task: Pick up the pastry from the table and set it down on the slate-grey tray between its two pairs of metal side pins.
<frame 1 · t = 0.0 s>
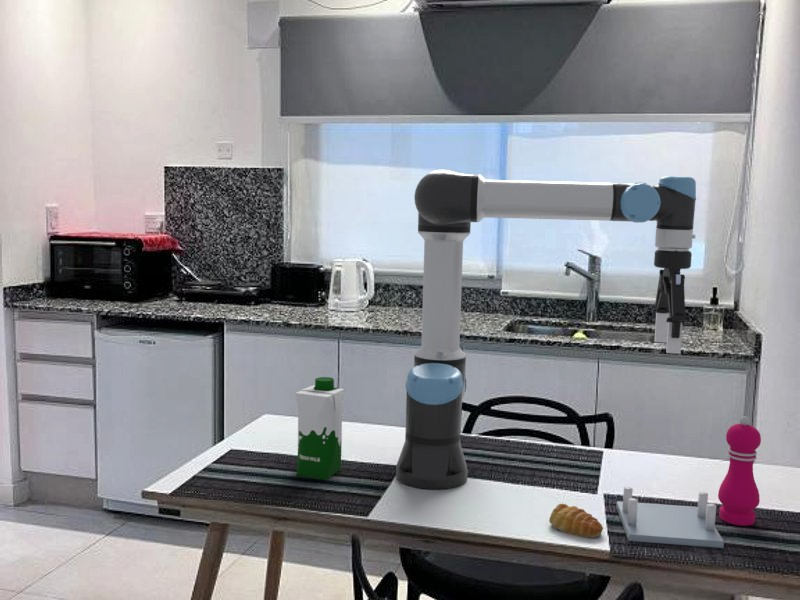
hand: (666, 347, 177), 28 cm above the table, fingers open, 13 cm apart
tray: (666, 526, 150), on the table
pastry: (574, 530, 148), on the table
pepper mill: (736, 520, 154), on the table
milk carton: (318, 473, 174), on the table
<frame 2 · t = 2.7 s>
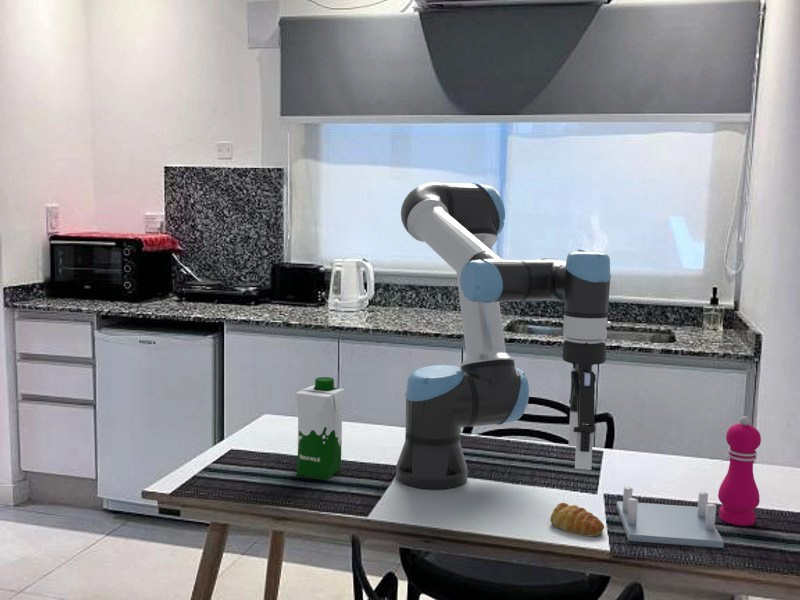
hand: (579, 457, 146), 13 cm above the table, fingers open, 13 cm apart
nothing on the table moved.
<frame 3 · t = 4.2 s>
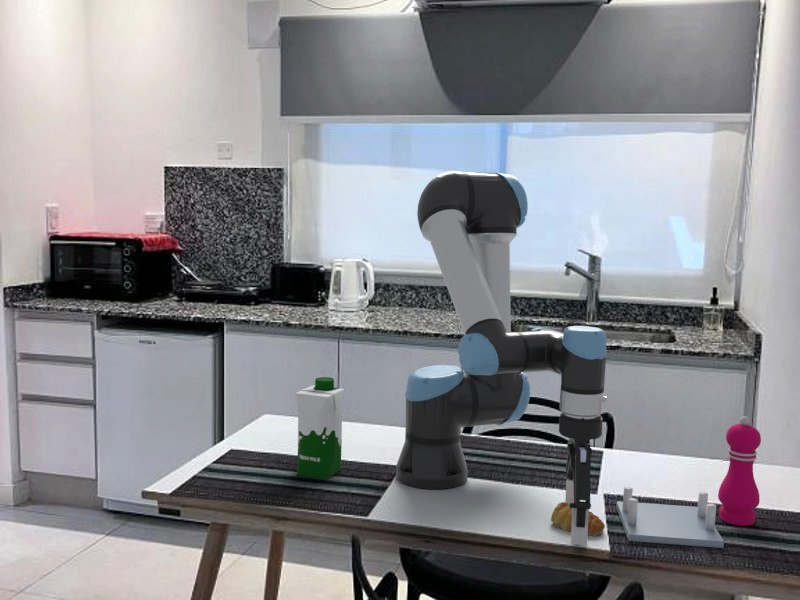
hand: (575, 528, 148), 0 cm above the table, fingers open, 13 cm apart
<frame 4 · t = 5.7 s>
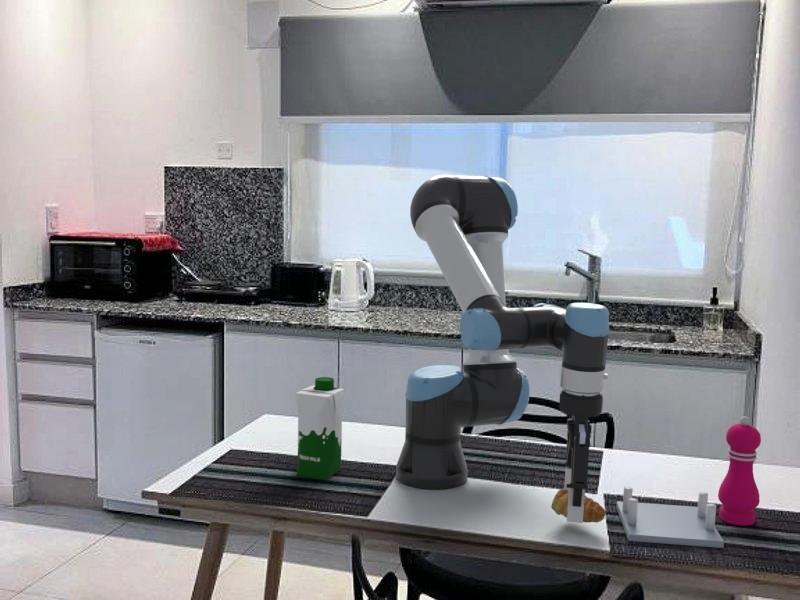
hand: (572, 511, 148), 3 cm above the table, fingers closed on pastry, 8 cm apart
pastry: (576, 515, 148), point 2 cm above the table, touching gripper
everything else where it was.
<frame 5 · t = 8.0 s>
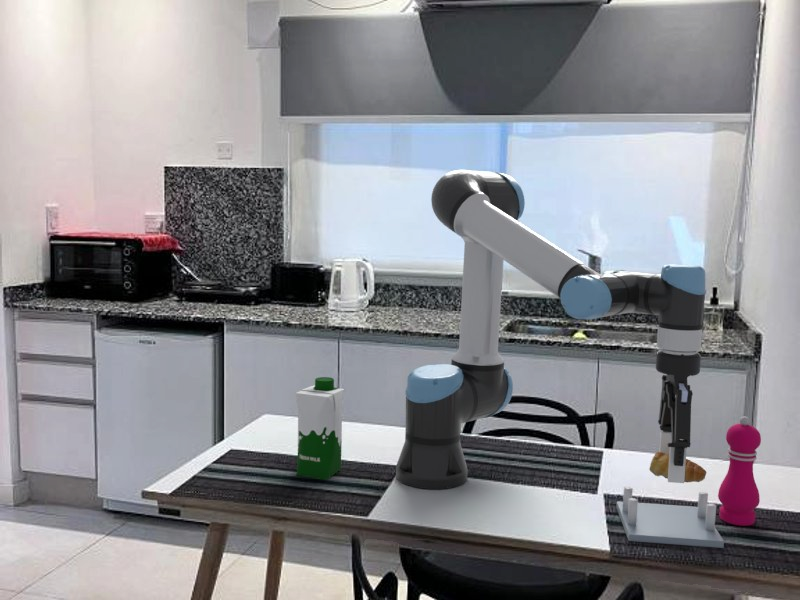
hand: (670, 473, 149), 10 cm above the table, fingers closed on pastry, 8 cm apart
pastry: (674, 476, 148), point 10 cm above the table, touching gripper
everything else where it was.
when the fingers open (2 cm above the table, at t = 10.2 s): pastry stays where it is, resting on tray.
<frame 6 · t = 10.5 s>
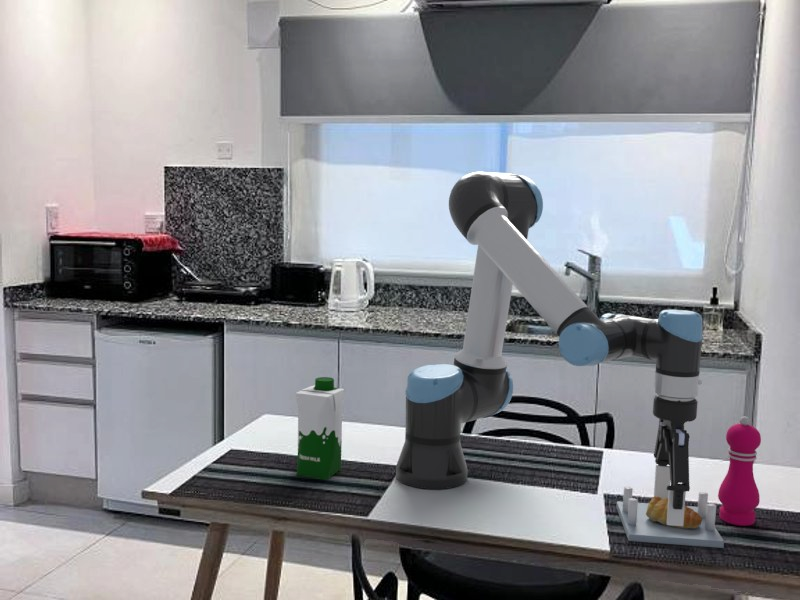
hand: (667, 511, 150), 3 cm above the table, fingers open, 12 cm apart
pastry: (670, 521, 150), point 1 cm above the table, touching tray
everything else where it was.
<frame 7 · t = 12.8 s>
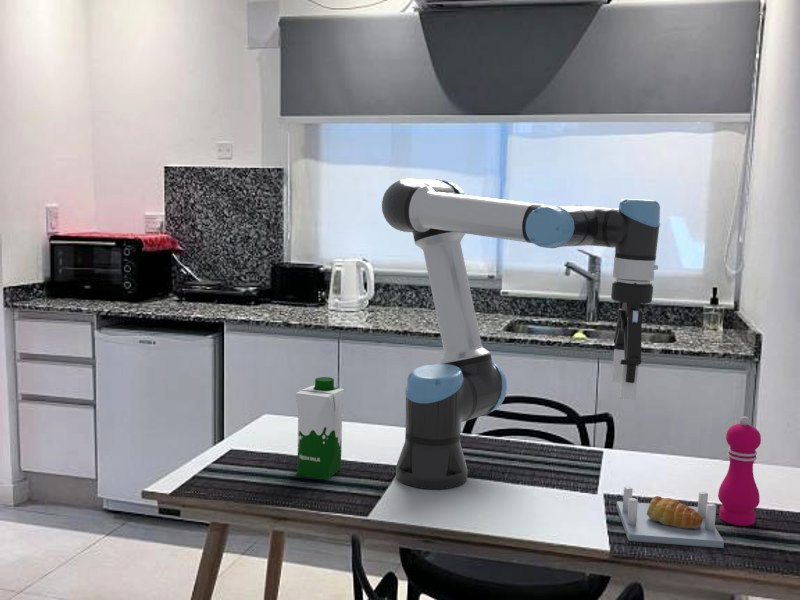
hand: (622, 390, 158), 23 cm above the table, fingers open, 13 cm apart
nothing on the table moved.
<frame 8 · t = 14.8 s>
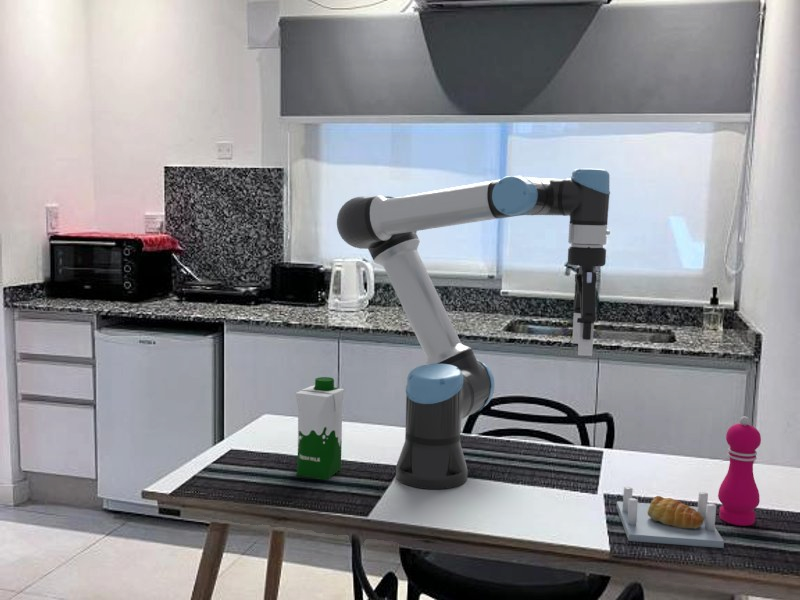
hand: (581, 349, 168), 29 cm above the table, fingers open, 13 cm apart
nothing on the table moved.
at the end: pastry inside the target area on the tray (1.0 cm from its centre), point 1.0 cm above the tray's base; the gripper is holding nothing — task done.
